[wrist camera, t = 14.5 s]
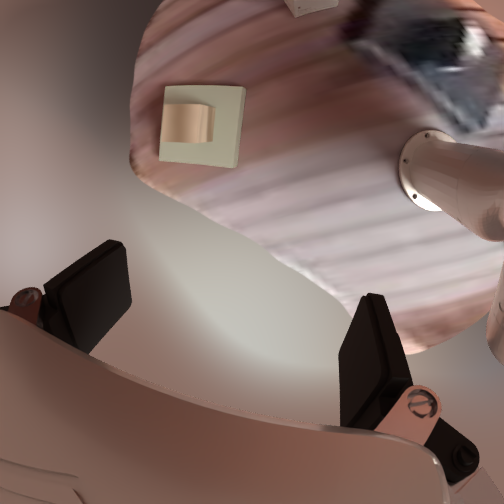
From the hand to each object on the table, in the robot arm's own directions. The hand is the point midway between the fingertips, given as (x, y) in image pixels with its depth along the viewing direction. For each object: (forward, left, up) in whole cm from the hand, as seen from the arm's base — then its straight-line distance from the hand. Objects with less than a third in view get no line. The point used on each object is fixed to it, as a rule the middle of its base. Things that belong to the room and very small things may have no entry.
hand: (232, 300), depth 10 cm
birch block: (+14, -6, -30) cm, 33 cm away
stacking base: (+14, -6, -32) cm, 36 cm away
